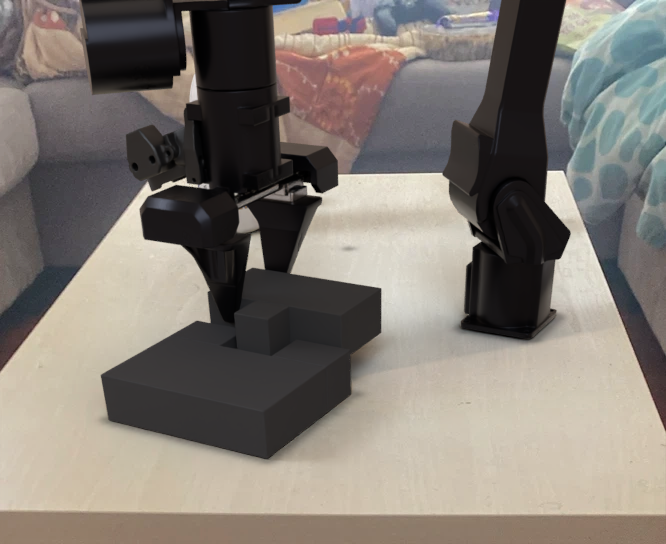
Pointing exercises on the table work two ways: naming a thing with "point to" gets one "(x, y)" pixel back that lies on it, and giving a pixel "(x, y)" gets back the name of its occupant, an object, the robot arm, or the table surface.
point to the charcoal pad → (227, 389)
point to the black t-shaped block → (302, 312)
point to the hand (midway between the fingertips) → (253, 307)
